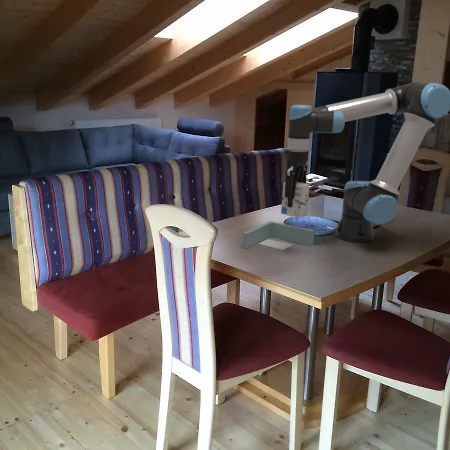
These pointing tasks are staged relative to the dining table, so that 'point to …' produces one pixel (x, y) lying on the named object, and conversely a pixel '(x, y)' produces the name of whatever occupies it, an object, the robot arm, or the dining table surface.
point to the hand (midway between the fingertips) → (293, 213)
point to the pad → (275, 244)
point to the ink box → (297, 200)
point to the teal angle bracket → (278, 234)
